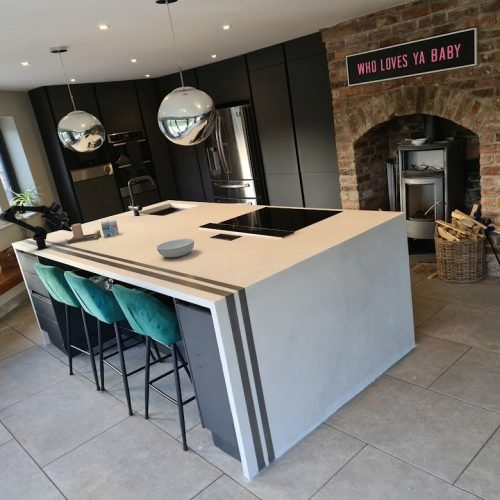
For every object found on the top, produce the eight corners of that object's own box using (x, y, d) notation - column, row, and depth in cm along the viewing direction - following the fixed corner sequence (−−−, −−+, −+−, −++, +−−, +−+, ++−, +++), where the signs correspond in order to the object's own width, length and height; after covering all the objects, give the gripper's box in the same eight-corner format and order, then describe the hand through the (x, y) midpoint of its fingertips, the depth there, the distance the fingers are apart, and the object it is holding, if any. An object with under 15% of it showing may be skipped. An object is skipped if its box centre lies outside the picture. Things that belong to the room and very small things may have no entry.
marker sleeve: (81, 238, 337) (78, 225, 334) (74, 239, 337) (71, 226, 334) (83, 236, 343) (80, 223, 340) (77, 237, 343) (73, 224, 340)
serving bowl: (197, 247, 274) (195, 236, 273) (194, 258, 254) (192, 245, 252) (161, 252, 275) (159, 241, 273) (155, 263, 254) (153, 251, 253)
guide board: (97, 239, 335) (95, 233, 334) (67, 244, 335) (66, 237, 334) (101, 235, 346) (99, 229, 345) (72, 240, 345) (71, 234, 344)
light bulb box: (104, 238, 336) (100, 223, 333) (104, 236, 343) (100, 221, 340) (119, 235, 339) (116, 220, 336) (119, 233, 345) (116, 219, 342)
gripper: (54, 211, 325) (74, 224, 328) (62, 206, 343) (81, 219, 346) (45, 224, 327) (65, 237, 330) (54, 219, 345) (73, 231, 348)
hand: (71, 231), depth 338 cm, fingers closed
